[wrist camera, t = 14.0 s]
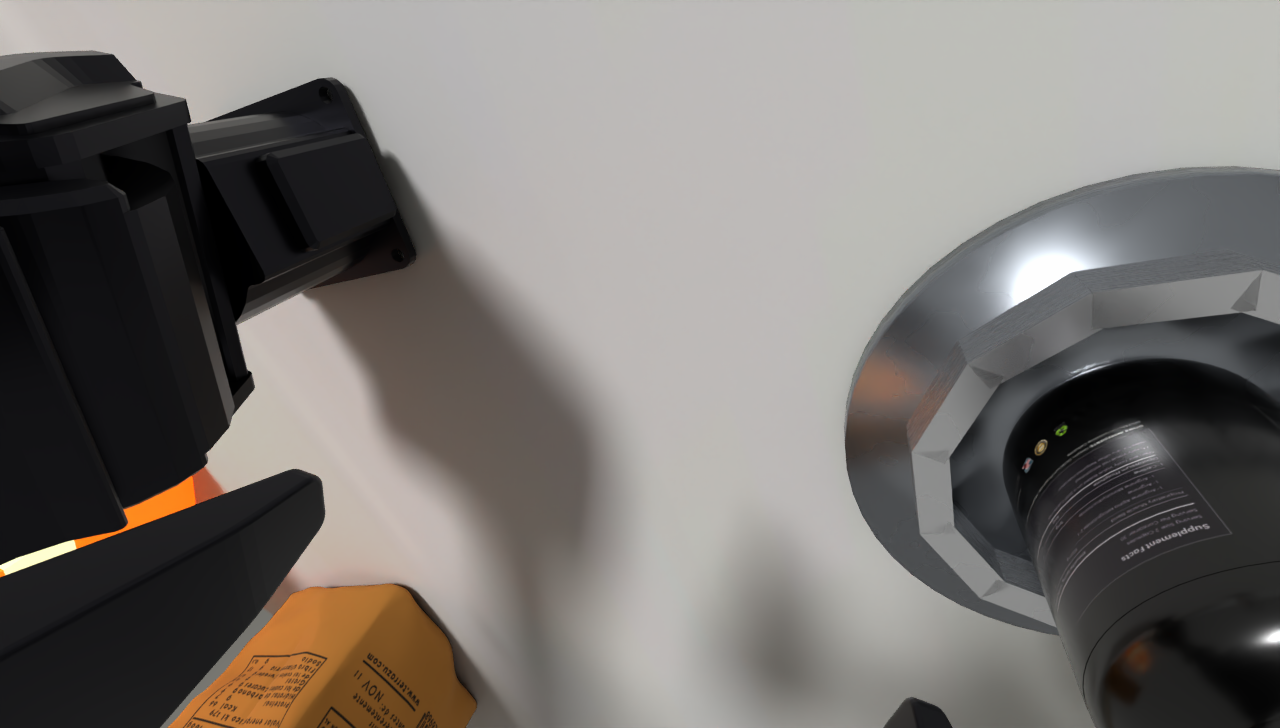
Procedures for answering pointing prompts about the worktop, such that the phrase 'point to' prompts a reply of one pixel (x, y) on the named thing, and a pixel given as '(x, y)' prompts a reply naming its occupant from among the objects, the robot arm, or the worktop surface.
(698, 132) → the worktop surface
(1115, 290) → the seat plate
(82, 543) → the orange juice
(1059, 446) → the supplement bottle
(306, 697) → the coffee package
